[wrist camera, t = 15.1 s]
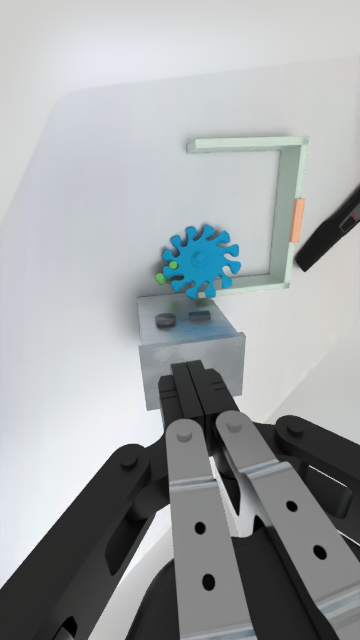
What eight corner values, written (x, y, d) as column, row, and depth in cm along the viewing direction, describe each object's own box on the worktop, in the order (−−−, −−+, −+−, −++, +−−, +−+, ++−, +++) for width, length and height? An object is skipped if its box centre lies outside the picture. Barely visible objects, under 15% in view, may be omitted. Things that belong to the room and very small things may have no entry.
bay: (191, 287, 40) (199, 300, 35) (186, 145, 32) (197, 137, 28) (273, 278, 42) (292, 289, 37) (288, 142, 34) (314, 134, 29)
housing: (140, 341, 42) (146, 410, 29) (134, 293, 39) (138, 347, 26) (207, 333, 44) (243, 394, 31) (207, 286, 40) (247, 332, 27)
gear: (227, 211, 35) (252, 281, 32) (227, 237, 40) (249, 298, 37) (145, 239, 36) (162, 308, 33) (156, 260, 41) (172, 321, 38)
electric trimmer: (284, 257, 41) (296, 262, 38) (369, 171, 38) (388, 169, 35) (298, 272, 43) (310, 278, 40) (380, 191, 39) (400, 191, 36)
